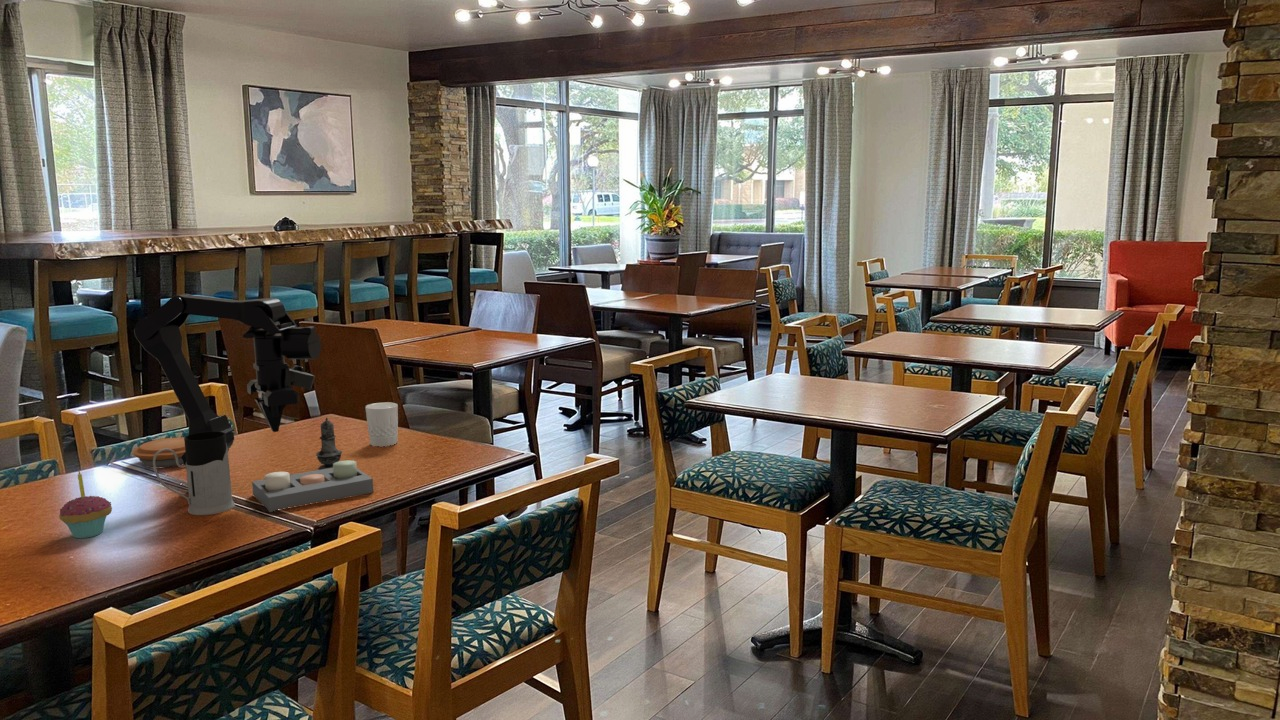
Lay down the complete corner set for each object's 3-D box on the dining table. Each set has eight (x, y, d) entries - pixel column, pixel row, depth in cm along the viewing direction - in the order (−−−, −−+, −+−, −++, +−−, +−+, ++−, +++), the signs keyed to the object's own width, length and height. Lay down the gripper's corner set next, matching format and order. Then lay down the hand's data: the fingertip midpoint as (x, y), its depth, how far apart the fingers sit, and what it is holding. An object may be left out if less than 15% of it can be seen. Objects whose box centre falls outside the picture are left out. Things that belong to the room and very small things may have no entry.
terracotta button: (304, 497, 192) (303, 482, 191) (298, 492, 196) (297, 476, 195) (328, 493, 195) (327, 477, 194) (321, 488, 198) (320, 472, 198)
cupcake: (56, 534, 173) (49, 472, 171) (107, 523, 179) (100, 462, 177) (69, 545, 167) (61, 481, 165) (120, 533, 173) (114, 471, 171)
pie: (191, 450, 233) (189, 430, 232) (216, 461, 223) (214, 441, 222) (124, 462, 222) (122, 442, 222) (147, 474, 212) (145, 453, 211)
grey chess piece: (347, 464, 217) (344, 414, 215) (336, 471, 212) (333, 420, 210) (323, 464, 218) (319, 414, 216) (312, 471, 212) (308, 420, 210)
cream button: (269, 495, 188) (267, 479, 187) (263, 490, 191) (261, 474, 191) (293, 491, 190) (292, 475, 190) (287, 486, 194) (285, 470, 194)
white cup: (406, 442, 238) (404, 404, 236) (382, 449, 231) (380, 410, 229) (384, 438, 242) (382, 401, 240) (361, 445, 235) (358, 406, 233)
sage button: (338, 483, 196) (337, 467, 195) (331, 478, 199) (330, 462, 199) (360, 479, 198) (359, 463, 198) (353, 474, 202) (352, 459, 202)
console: (270, 512, 184) (268, 497, 183) (253, 495, 195) (251, 481, 194) (373, 492, 196) (372, 478, 195) (351, 477, 207) (351, 464, 206)
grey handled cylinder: (241, 508, 186) (235, 435, 184) (165, 524, 177) (157, 448, 175) (226, 498, 193) (220, 428, 190) (152, 513, 184) (144, 440, 181)
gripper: (322, 360, 190) (327, 434, 193) (296, 349, 205) (301, 418, 208) (265, 366, 184) (271, 442, 187) (243, 354, 199) (249, 425, 202)
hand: (275, 431), depth 196 cm, fingers closed
